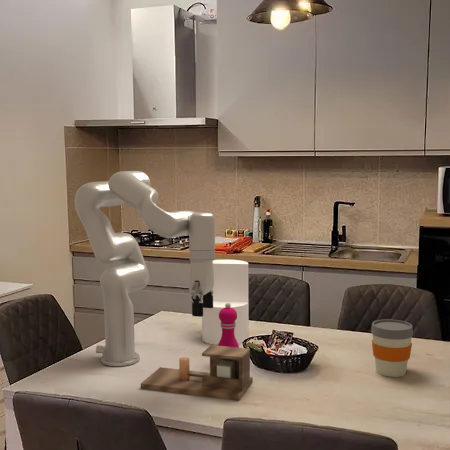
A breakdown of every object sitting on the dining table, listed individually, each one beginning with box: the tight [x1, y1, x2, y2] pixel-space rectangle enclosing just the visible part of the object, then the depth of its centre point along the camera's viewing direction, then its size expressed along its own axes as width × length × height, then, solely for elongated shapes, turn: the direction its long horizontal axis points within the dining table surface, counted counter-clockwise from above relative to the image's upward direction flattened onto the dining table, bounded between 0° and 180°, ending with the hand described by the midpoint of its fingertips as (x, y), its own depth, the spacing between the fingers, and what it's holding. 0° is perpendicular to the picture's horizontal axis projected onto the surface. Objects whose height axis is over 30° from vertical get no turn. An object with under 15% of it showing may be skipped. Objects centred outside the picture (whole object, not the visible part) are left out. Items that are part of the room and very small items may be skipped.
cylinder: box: [201, 259, 250, 346], centre depth 222 cm, size 17×17×28 cm
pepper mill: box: [217, 303, 240, 348], centre depth 196 cm, size 7×7×20 cm
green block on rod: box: [178, 357, 235, 381], centre depth 177 cm, size 16×5×6 cm, turn 72°
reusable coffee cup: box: [370, 318, 414, 378], centre depth 187 cm, size 13×13×15 cm
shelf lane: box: [140, 344, 254, 401], centre depth 177 cm, size 30×14×11 cm, turn 72°
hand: (202, 311), depth 179 cm, fingers open, 9 cm apart
